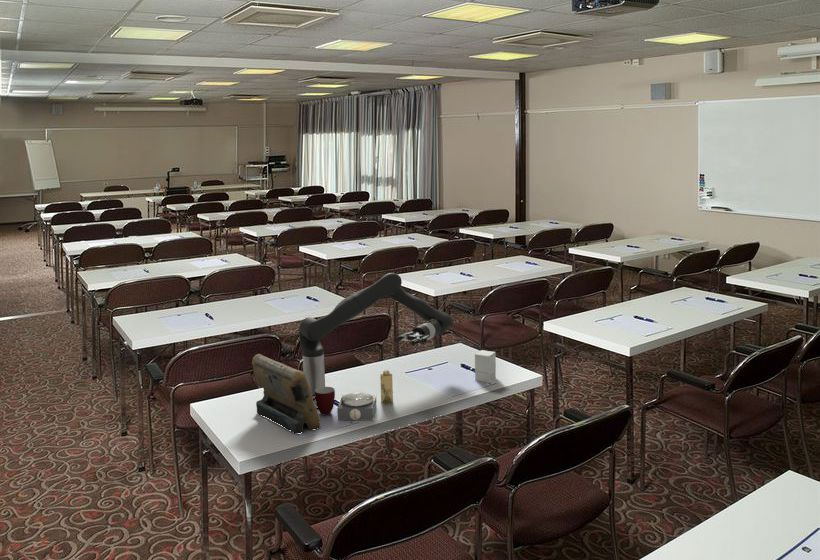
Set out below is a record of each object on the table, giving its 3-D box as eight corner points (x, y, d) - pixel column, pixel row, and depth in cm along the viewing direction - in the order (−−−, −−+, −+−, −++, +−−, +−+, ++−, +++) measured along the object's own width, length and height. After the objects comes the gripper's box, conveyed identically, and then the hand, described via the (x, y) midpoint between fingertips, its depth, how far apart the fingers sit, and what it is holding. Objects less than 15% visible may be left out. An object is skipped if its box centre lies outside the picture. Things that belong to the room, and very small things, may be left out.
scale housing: (337, 420, 267) (337, 408, 266) (343, 406, 281) (342, 395, 280) (372, 420, 266) (372, 408, 265) (376, 406, 280) (376, 395, 279)
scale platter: (338, 406, 267) (338, 404, 267) (343, 394, 280) (343, 392, 279) (371, 406, 266) (371, 404, 266) (374, 394, 279) (374, 392, 279)
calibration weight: (380, 404, 283) (379, 373, 280) (381, 399, 288) (380, 369, 285) (392, 404, 283) (391, 373, 280) (393, 399, 287) (392, 369, 285)
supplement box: (496, 378, 311) (496, 351, 309) (489, 383, 305) (489, 356, 303) (481, 375, 315) (481, 349, 313) (474, 380, 309) (474, 353, 307)
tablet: (327, 425, 263) (325, 364, 258) (299, 437, 253) (296, 373, 248) (276, 405, 284) (272, 348, 279) (248, 415, 274) (244, 356, 269)
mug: (316, 420, 268) (314, 396, 266) (306, 414, 274) (305, 390, 272) (339, 413, 274) (338, 390, 272) (329, 407, 280) (328, 385, 278)
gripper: (410, 322, 306) (389, 331, 292) (437, 326, 298) (417, 335, 285) (410, 338, 307) (390, 348, 294) (437, 342, 299) (417, 352, 286)
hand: (403, 342), depth 289 cm, fingers open, 8 cm apart
